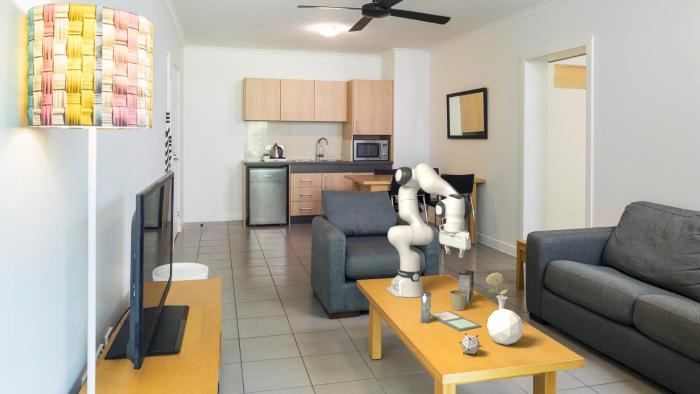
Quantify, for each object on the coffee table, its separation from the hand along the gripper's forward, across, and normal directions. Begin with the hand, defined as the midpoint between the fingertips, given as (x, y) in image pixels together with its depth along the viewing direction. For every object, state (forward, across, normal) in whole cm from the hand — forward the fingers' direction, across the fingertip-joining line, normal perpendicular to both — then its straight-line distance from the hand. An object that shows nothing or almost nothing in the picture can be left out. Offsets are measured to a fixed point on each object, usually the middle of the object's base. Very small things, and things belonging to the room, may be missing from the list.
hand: (454, 255), depth 250 cm
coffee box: (+30, +15, -21) cm, 39 cm away
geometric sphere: (+30, -39, +4) cm, 49 cm away
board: (+30, -8, +5) cm, 31 cm away
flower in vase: (+30, -22, -10) cm, 38 cm away
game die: (+30, -42, +24) cm, 57 cm away
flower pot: (+30, +6, -9) cm, 32 cm away
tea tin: (+30, -2, +18) cm, 35 cm away
